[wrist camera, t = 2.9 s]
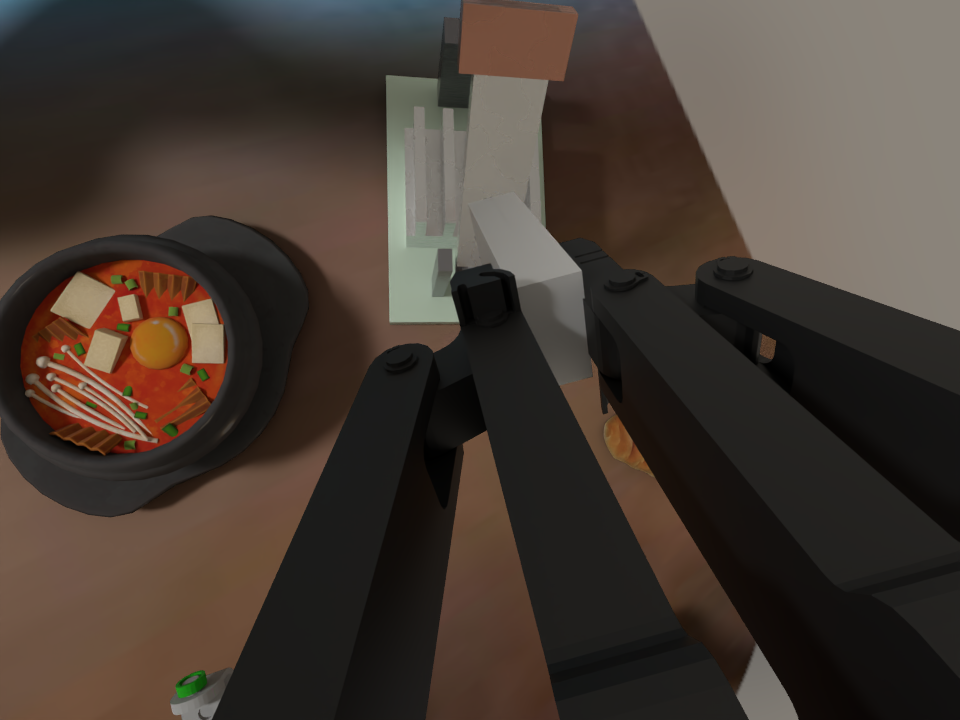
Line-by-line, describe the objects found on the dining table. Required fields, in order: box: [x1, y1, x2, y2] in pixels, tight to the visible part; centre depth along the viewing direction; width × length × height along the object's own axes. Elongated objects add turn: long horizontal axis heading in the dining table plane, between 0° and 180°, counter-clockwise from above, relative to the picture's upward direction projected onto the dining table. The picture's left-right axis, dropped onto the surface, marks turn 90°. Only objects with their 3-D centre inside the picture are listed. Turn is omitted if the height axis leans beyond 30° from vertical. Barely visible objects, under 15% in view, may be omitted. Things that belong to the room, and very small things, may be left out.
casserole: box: [0, 215, 309, 517], centre depth 35 cm, size 25×19×8 cm
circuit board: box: [386, 75, 546, 324], centre depth 44 cm, size 22×14×1 cm, turn 2°
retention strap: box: [455, 0, 578, 272], centre depth 30 cm, size 17×6×1 cm
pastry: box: [604, 414, 655, 477], centre depth 43 cm, size 9×7×4 cm
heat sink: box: [404, 17, 541, 297], centre depth 39 cm, size 19×11×8 cm, turn 2°
